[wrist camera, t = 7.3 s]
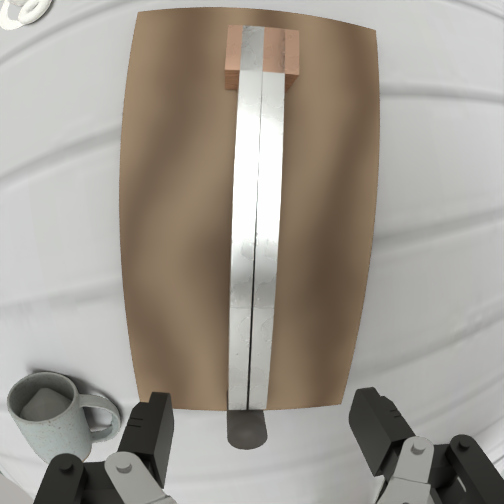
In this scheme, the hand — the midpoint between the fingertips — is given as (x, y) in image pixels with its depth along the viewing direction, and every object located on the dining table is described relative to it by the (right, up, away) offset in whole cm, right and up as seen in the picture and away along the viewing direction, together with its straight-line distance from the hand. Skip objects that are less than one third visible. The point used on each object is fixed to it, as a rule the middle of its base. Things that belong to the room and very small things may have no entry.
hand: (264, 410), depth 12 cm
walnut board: (-1, +9, +10) cm, 13 cm away
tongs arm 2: (-2, +8, +8) cm, 12 cm away
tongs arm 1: (0, +8, +9) cm, 12 cm away
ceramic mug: (-18, -8, +13) cm, 24 cm away
